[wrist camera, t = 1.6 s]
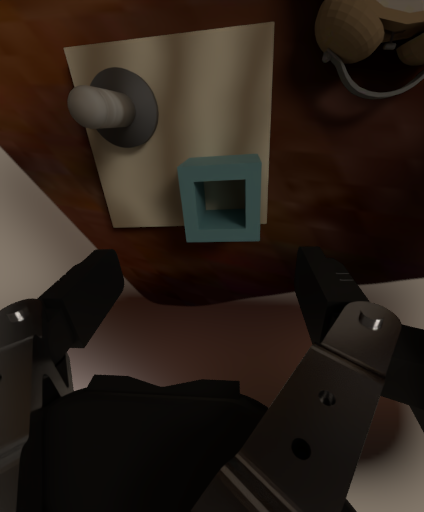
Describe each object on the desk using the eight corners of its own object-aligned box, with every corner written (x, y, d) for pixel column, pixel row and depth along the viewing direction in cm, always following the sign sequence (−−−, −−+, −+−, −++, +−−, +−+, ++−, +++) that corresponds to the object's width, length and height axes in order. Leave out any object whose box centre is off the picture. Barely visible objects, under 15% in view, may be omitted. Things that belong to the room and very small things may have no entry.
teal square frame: (257, 153, 21) (261, 162, 17) (256, 219, 24) (259, 240, 20) (189, 157, 22) (177, 166, 18) (196, 220, 25) (186, 242, 21)
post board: (271, 28, 18) (292, -33, 11) (265, 218, 26) (275, 258, 18) (74, 52, 20) (-20, 14, 13) (119, 222, 28) (75, 260, 20)
